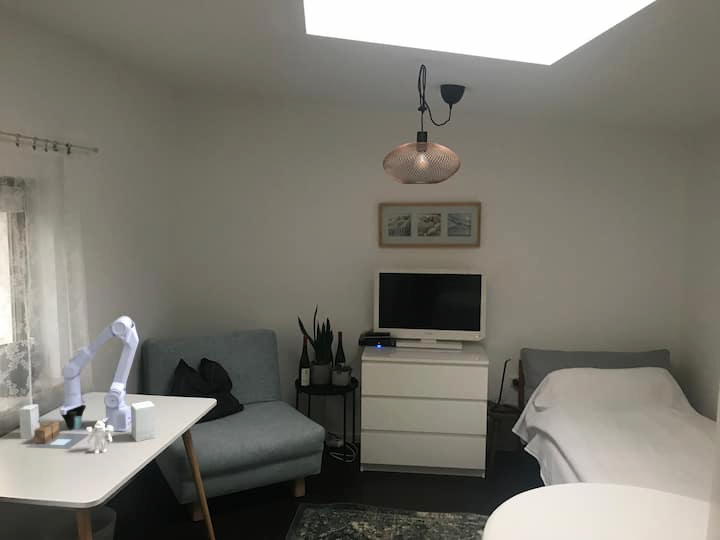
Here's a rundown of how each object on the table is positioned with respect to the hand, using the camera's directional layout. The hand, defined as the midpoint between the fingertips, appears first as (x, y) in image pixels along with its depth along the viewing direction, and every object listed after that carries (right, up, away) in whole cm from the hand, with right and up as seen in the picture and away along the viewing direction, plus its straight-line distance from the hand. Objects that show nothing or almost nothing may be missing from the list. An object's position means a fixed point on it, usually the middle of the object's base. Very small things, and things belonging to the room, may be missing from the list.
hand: (74, 426), depth 224 cm
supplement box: (+30, -3, -6) cm, 30 cm away
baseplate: (+1, -3, -13) cm, 13 cm away
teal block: (0, -1, 0) cm, 1 cm away
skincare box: (-12, -2, -8) cm, 15 cm away
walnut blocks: (-4, -2, -12) cm, 13 cm away
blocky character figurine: (+20, -4, -20) cm, 28 cm away
